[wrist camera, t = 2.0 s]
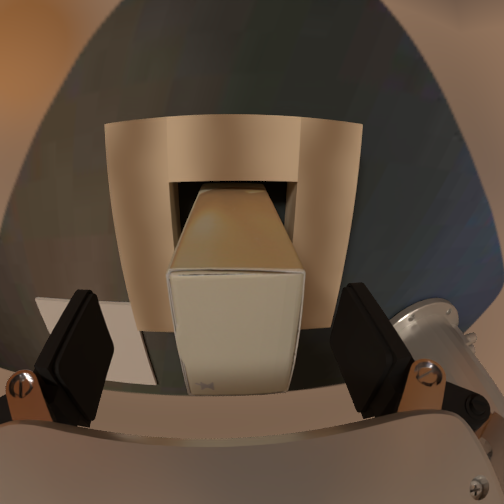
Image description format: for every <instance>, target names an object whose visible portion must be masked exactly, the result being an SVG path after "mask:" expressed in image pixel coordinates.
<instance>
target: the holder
mask: <svg viewBox="0 0 504 504" xmlns="http://www.w3.org/2000/svg"><path fill="white" fill-rule="evenodd" d="M362 127H363V124H357V123H350V122H342V121H334V120H326V119H316V118H305V117H292V116H276V115H246V114H218V115H189V116H172V117H159V118H149V119H139V120H131V121H123V122H116V123H109V124H105V143H106V157H107V169H108V180H109V189H110V197H111V205H112V212H113V219H114V225H115V232H116V237H117V243H118V249H119V254H120V259H121V264H122V269H123V274H124V278H125V283H126V287H127V292H128V296H129V300H130V304H131V308H132V312H133V316H134V319H135V323H136V327H137V330H138V331H155V332H174V325H173V321H172V315H171V309H170V303H169V296H168V288H167V281H166V271H167V269H168V266H169V263H170V261H171V258H172V256H173V253H174V251H175V248H176V246H177V243H178V241H179V238H180V236H181V223H180V208H179V191H178V182H190V181H287V192H286V208H285V222H284V228H285V230H286V232H287V234H288V236H289V238H290V240H291V242H292V244H293V246H294V249H295V251H296V253H297V255H298V257H299V259H300V261H301V263H302V265H303V268H304V270H305V272H306V277H305V289H304V300H303V312H302V320H301V328H300V329H314V328H326V327H331V323H332V319H333V315H334V310H335V306H336V302H337V297H338V292H339V288H340V283H341V278H342V273H343V268H344V263H345V258H346V252H347V247H348V241H349V235H350V229H351V222H352V216H353V209H354V202H355V195H356V187H357V179H358V170H359V161H360V151H361V140H362Z"/></svg>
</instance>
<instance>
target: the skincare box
mask: <svg viewBox="0 0 504 504" xmlns="http://www.w3.org/2000/svg"><path fill="white" fill-rule="evenodd" d="M305 277H306V272H305V270H304V268H303V265H302V263H301V261H300V259H299V257H298V255H297V253H296V251H295V249H294V246H293V244H292V242H291V240H290V238H289V236H288V234H287V232H286V230H285V228H284V226H283V224H282V222H281V220H280V217H279V215H278V213H277V211H276V209H275V207H274V205H273V203H272V201H271V199H270V197H269V195H268V193H267V191H266V189H265V187H264V185H263V184H257V183H205V184H203V185H202V186H201V188H200V191H199V193H198V195H197V198H196V200H195V202H194V205H193V207H192V209H191V212H190V214H189V216H188V219H187V221H186V223H185V226H184V228H183V231H182V233H181V236H180V238H179V241H178V243H177V246H176V248H175V251H174V253H173V256H172V258H171V261H170V263H169V266H168V269H167V271H166V281H167V288H168V296H169V303H170V309H171V315H172V321H173V325H174V333H175V338H176V343H177V348H178V352H179V357H180V361H181V366H182V370H183V374H184V379H185V383H186V387H187V392H188V394H189V395H192V396H246V395H265V394H275V393H286V392H287V391H288V389H289V385H290V382H291V378H292V375H293V370H294V365H295V360H296V355H297V348H298V342H299V335H300V328H301V320H302V312H303V300H304V289H305Z"/></svg>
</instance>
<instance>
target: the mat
mask: <svg viewBox="0 0 504 504" xmlns="http://www.w3.org/2000/svg"><path fill="white" fill-rule="evenodd" d="M35 300H36V303H37V305H38V308H39V310H40V312H41V315H42V317H43V319H44V322H45V324H46V326H47V328H48V331H49V333H50V334H51V332H52V331H53V329H54V327H55V325H56V324H57V322H58V320H59V318H60V317H61V315H62V313H63V311H64V310H65V308H66V306H67V305H68V303H69V301H70V300H69V299H54V298H41V297H37V298H36V299H35ZM99 304H100V307H101V310H102V313H103V316H104V319H105V322H106V325H107V328H108V331H109V333H110V336H111V339H112V341H113V344H114V354H113V357H112V360H111V363H110V366H109V370H108V373H107V376H106V380H109V381H117V382H126V383H136V384H147V385H157V381H156V378H155V375H154V372H153V369H152V366H151V363H150V359H149V356H148V353H147V350H146V346H145V343H144V339H143V336H142V332H141V331H138V330H137V327H136V323H135V319H134V316H133V312H132V308H131V304H130V302H107V301H99Z"/></svg>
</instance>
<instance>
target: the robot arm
mask: <svg viewBox="0 0 504 504" xmlns="http://www.w3.org/2000/svg"><path fill="white" fill-rule="evenodd" d="M458 323H459V316H458V312H457V310H456V309H455V307H454V306H453V305H452V304H451V303H450V302H449V301H447V300H445V299H443V298H430V299H426V300H423V301H419V302H417V303H415V304H413V305H411V306H409V307H407V308H406V309H404V310H402V311H401V312H399V313H398V314H397V315H395V316H394V317H393V318H392V319H390V320H389V319H388V318H387V316H386V315H385V313H384V312H383V310H382V309H381V307H380V306H379V304H378V303H377V302H376V300H375V299H374V297H373V296H372V294H371V293H370V292H369V290H368V289H367V287H366V286H365V284H364V283H362V282H361V283H349V284H348V285H347V287H344V288H343V290H342V294H341V298H340V302H339V306H338V310H337V314H336V318H335V322H334V326H333V330H332V334H331V337H330V345H331V348H332V351H333V353H334V355H335V358H336V360H337V363H338V365H339V368H340V370H341V373H342V375H343V378H344V380H345V383H346V385H347V388H348V390H349V393H350V395H351V398H352V400H353V403H354V406H355V408H356V410H357V412H361V414H362V416H363V419H365V418H370V417H374V416H375V418H372V419H368V420H363V421H359V422H354V423H349V424H345V425H339V426H334V427H329V428H323V429H318V430H312V431H305V432H298V433H291V434H282V435H273V436H263V437H249V438H231V439H180V438H162V437H148V436H137V435H129V434H121V433H113V432H107V431H100V430H94V429H88V428H82V427H77V426H78V425H79V426H84V427H90V423H91V421H93V420H94V419H95V416H96V413H97V409H98V405H99V401H100V398H101V394H102V390H103V387H104V383H105V380H106V376H107V373H108V370H109V366H110V363H111V360H112V357H113V354H114V344H113V341H112V339H111V336H110V333H109V331H108V328H107V325H106V322H105V319H104V316H103V313H102V310H101V307H100V304H99V301H98V298H97V295H96V294H93V292H92V291H91V290H77V291H76V292H75V293H74V295H73V296H72V298H71V300H70V301H69V303H68V305H67V306H66V308H65V310H64V311H63V313H62V315H61V317H60V318H59V320H58V322H57V324H56V325H55V327H54V329H53V331H52V332H51V334H50V336H49V338H48V340H47V342H46V344H45V346H44V347H43V349H42V351H41V353H40V355H39V357H38V359H37V361H36V363H35V365H34V367H35V369H34V372H32V371H29V370H20V371H17V372H16V373H14V374H13V375H12V376H11V377H10V378H9V379H8V381H7V383H6V394H5V395H4V396H2V397H0V504H504V396H503V395H502V393H501V392H500V390H499V389H498V387H497V386H496V384H495V383H494V381H493V380H492V378H491V377H490V376H489V374H488V373H487V371H486V370H485V368H484V367H483V365H482V364H481V363H480V361H479V360H478V359H477V357H476V356H475V347H474V345H472V344H473V343H475V342H476V340H477V336H476V334H475V333H474V332H473V333H469V334H466V335H464V334H463V333H462V331H461V330H460V329H459V328H458Z"/></svg>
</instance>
